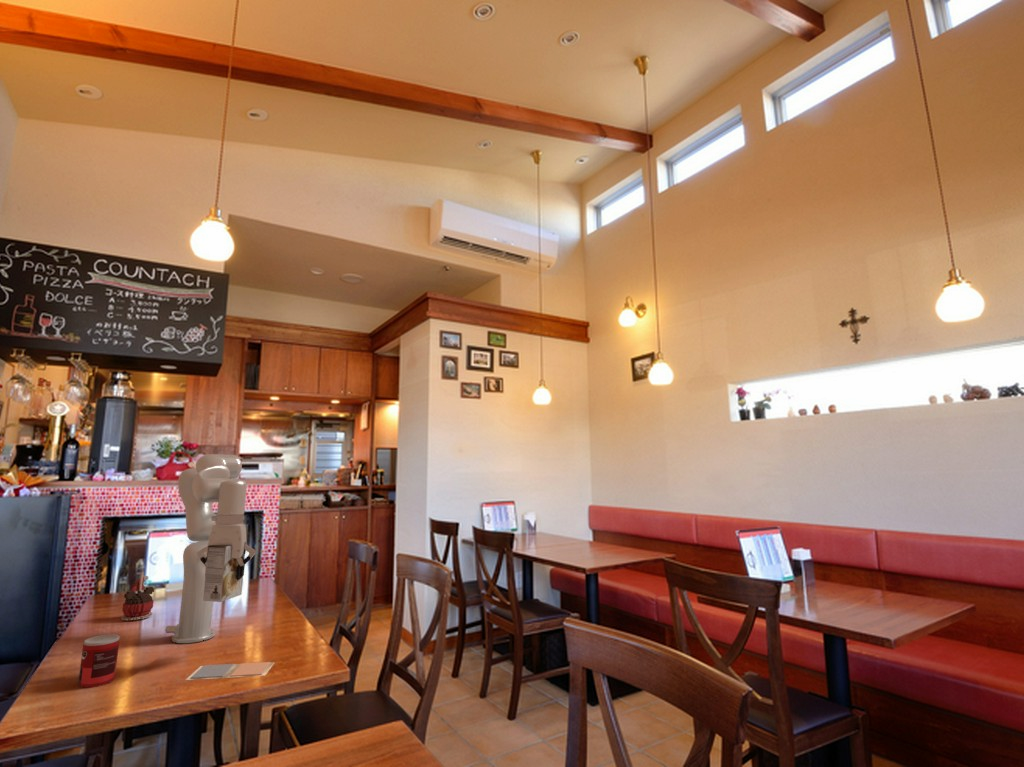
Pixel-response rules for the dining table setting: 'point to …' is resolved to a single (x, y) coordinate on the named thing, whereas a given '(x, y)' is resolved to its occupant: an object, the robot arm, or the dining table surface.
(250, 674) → the terracotta pad
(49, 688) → the dining table surface
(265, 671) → the serving board
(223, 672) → the slate pad
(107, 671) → the canned food
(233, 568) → the coffee box
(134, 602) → the cake
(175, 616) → the dining table surface
